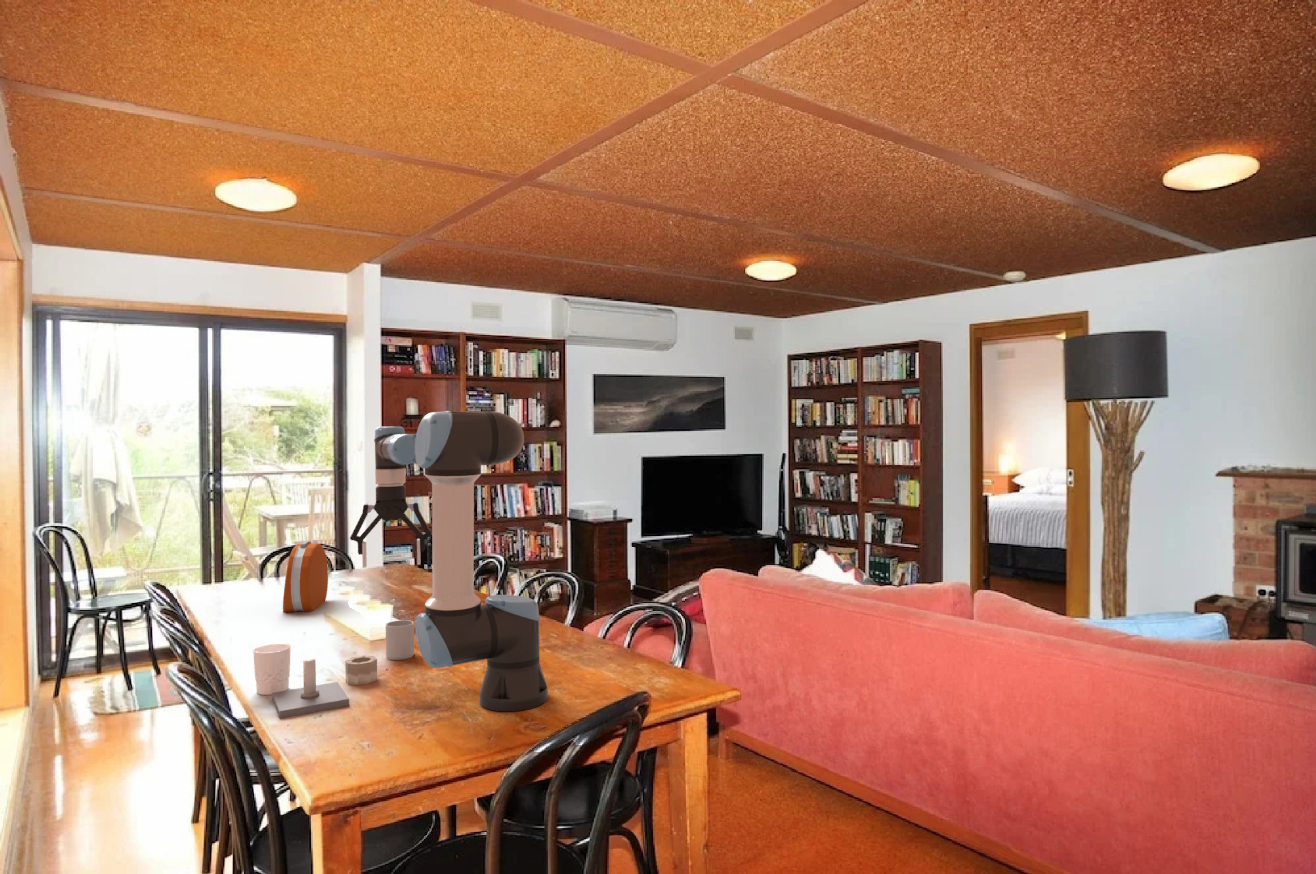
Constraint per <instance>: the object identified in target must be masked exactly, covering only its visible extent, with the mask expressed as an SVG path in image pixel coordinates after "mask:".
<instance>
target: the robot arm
mask: <svg viewBox="0 0 1316 874" xmlns="http://www.w3.org/2000/svg"><path fill="white" fill-rule="evenodd" d="M373 441H374V458H375V459H374V461H375V462H374V463H375V468H374V469H375V470H374V471H375V484H376V485H377V486H376V487H375V504H368V503H365V504H364V505H363V507H362V512H361V515H360V517H359V519H358V521H357V524H356V525H355V527H354V529H353V531H352V533H351V536H350V537H349V539H350V540H351V541H355V542H356V543H357V553H358V555H362V556H361V557H362V559H361V561H362V568H363V569H365V568H367V567H368V563H367V562H368V560H367V559H368V557H367V554H368V553H367V540H365V539H366V538H367V536H368V535H369V534H370V533H371V532H372V530H373V529H374V528H375V527H376V525H377V524H378V523H379V522H381V520H382V521H386V522H387V521H399V520H402V522H404V524H405V525H407V527H409V529H410V530H411V531H412V532H413V533H414V534H415V535H416V536H417V537H418V538H417V539H416V562H417V563H416V565H418V566H419V565H420V566H421V560H422V559H421V552H424V551H425V549H426V547H425V546H426V545H425V543H426V541H425V540H426V539H427V538H430V537H432V538H431V539H432V540H431V541H432V544H431V546H432V548H431V549H432V551H431V552H432V554H431V559H432V563H431V565H432V566H431V567H432V579H431V581H432V584H431V586H432V589H431V590H432V593H431V594H432V595H431V596H430V597H429V598H428V599H427V600H426V601H425V603H424V612H420V613H419V614H418V615H416V616H415V622H414V632H415V636H416V638H415V639H416V642H417V646H418V650H419V652H420V655H421V657H422V659H423V661H424V662H425V663H426V665H428V666H429V667H431V668H433V669H434V668H444V667H453V666H457V665H463V664H468V663H474V662H478V661H484V660H486V670H485V674H484V677H483V680H482V682H481V687H480V690H479V694H478V695H479V697H478V699H479V705H480V706H481V707H483V708H484V709H487V710H491V711H494V712H496V711H497V712H518V711H524V710H530V709H534V708H536V707H539V706H541V705H543V704H544V703H546V702H547V700H548V699H549V688H548V684H547V681H546V678H545V676H544V674H543V669H542V666H541V664H540V662H541V661H540V659H541V658H540V621H541V620H540V619H541V618H540V613H539V611H540V610H539V605H538V602H537V601H536V600H535V599H532V598H530V597H526V596H521V595H513V594H493V595H490V596H487V597H486V599H485V600H484V603H485V604H482V602H481V601H482V600H481V598H480V597H479V596H477V594H476V593H475V592H474V588H475V587H474V586H475V585H474V584H475V583H474V579H475V578H474V576H475V575H474V573H475V572H474V571H475V570H474V568H475V567H474V563H475V562H474V561H475V557H474V555H475V554H474V553H475V552H474V551H475V550H474V549H475V548H474V546H475V539H474V538H475V535H474V533H475V531H474V530H475V528H474V527H475V526H474V525H475V524H474V522H475V519H474V518H475V516H474V515H475V513H474V511H475V506H474V505H475V503H474V502H475V495H474V494H475V493H474V492H475V490H474V489H475V487H474V486H475V485H474V484H475V482H476V481H477V480H478V479H479V478H480V477H481V475H482V466H492V465H493V466H494V465H499V464H504V463H507V462H509V461H511V460H513V459H514V458H516V457H517V456H518V455H519V454H520V452H521V451H522V449H523V448H524V444H525V434H524V430H523V428H522V426H521V425H520V423H519V422H518V421H517V420H516V419H514V418H513V417H511V416H510V415H508V414H506V413H502V412H497V411H449V410H446V411H434V412H429V413H427V414H426V415H424V416H423V417H422V419H421V421H420V423H419V425H418V428H417V431H416V433H406V432H405V428H404V427H403V426H378V427H376V428H375V430H374V440H373ZM411 464H416V465H417V466H418V468H419V467H420V468H421V469H422V470H423V469H424V476H425V477H426V478H427V479H428V480H429V482H431V487H432V488H431V491H432V493H431V497H432V498H431V501H432V504H431V506H432V507H431V509H432V510H431V516H432V517H431V518H432V519H431V520H432V523H431V525H432V526H431V528H432V529H430V527H429V526H428V524H427V522H426V520H425V518H424V516H423V515H422V513H421V511H420V507H419V502H417V501H414V502H411V503H408V502H407V497H406V496H407V491H406V489H407V487H406V486H405V485H404V484H405V483H406V481H407V480H406V465H411ZM408 509H410V511H411V512H413V513H414V515H415V516H416V518H417V521H418V522H419V524H420V526H421V528H422V529H423V531H424V532H422V531H421V529H419V527H418V526H416V524H415V523H414V522H413V521H412V520H411V519H410V518H409V517H408V516H407V515H406V514H405V512H406V511H407V510H408ZM372 510H374V511H375V512H376V514H377V515H376V517H375V518H374V519H373V520H372V522H371V523H370V524H369V525H368V527H367V528H366V529H365V530H364V531H363V533H362V534H361V535H360V536H359V535H358V534H359V533H360V531H361V528H362V526H363V525H364V523H365V521H366V519H367V516H368V514H369V513H371V512H372ZM364 540H365V541H364Z"/></svg>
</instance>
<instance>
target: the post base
mask: <svg viewBox="0 0 1316 874" xmlns="http://www.w3.org/2000/svg"><path fill="white" fill-rule="evenodd" d="M302 663H303V665H302V667H303V672H302V673H303V687H299V688H294V689H288V690H286V691H280V692H274V693H272V695H271V698H272V699H271V700H272V702H273V703H272V704H274V708H275V710H276V713H277V716H278V718H279V719H281V718H283V719H285V718H288V717H293V716H299V715H304V714H310V713H315V712H321V711H326V710H327V711H328V710H333V709H337V708H342V707H348V706H350V699H349V697H348V696H347V694H346V692H345V691H344V689H343V688H342V686H341V685H340V683H339V681H333V682H328V683H323V684H317V679H316V677H317V673H316V672H317V671H316V666H317V665H316V663H317V662H316V658H307V659H304V660H303V662H302Z"/></svg>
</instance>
